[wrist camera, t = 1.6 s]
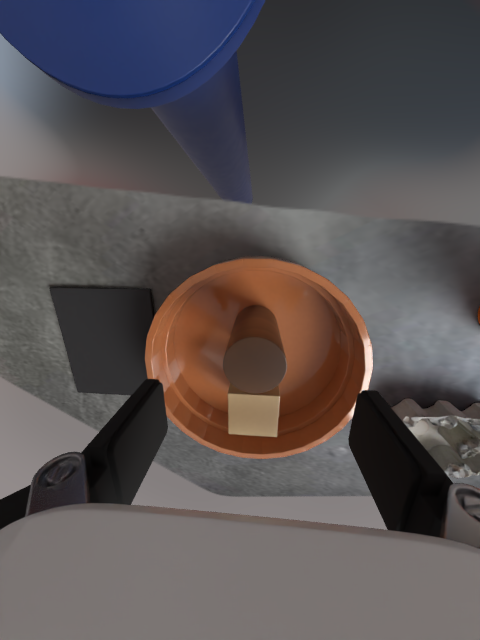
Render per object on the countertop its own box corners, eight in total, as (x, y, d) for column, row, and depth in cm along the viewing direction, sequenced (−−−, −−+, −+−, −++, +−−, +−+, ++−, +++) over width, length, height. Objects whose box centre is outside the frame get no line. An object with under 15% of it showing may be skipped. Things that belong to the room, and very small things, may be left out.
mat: (52, 286, 22) (49, 287, 21) (151, 288, 21) (149, 289, 21) (80, 390, 26) (77, 392, 25) (164, 394, 25) (163, 397, 24)
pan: (156, 254, 20) (129, 257, 16) (365, 256, 19) (397, 259, 14) (174, 417, 26) (158, 451, 21) (335, 427, 24) (351, 465, 20)
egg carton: (371, 446, 25) (392, 483, 21) (391, 390, 22) (418, 420, 19) (470, 458, 24) (510, 499, 20) (502, 402, 22) (554, 436, 18)
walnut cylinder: (234, 304, 20) (221, 335, 13) (278, 305, 20) (289, 338, 13) (234, 344, 22) (223, 392, 14) (275, 345, 21) (284, 395, 14)
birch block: (234, 358, 22) (227, 393, 17) (275, 360, 22) (280, 396, 17) (234, 392, 23) (228, 434, 18) (272, 394, 23) (277, 437, 18)
